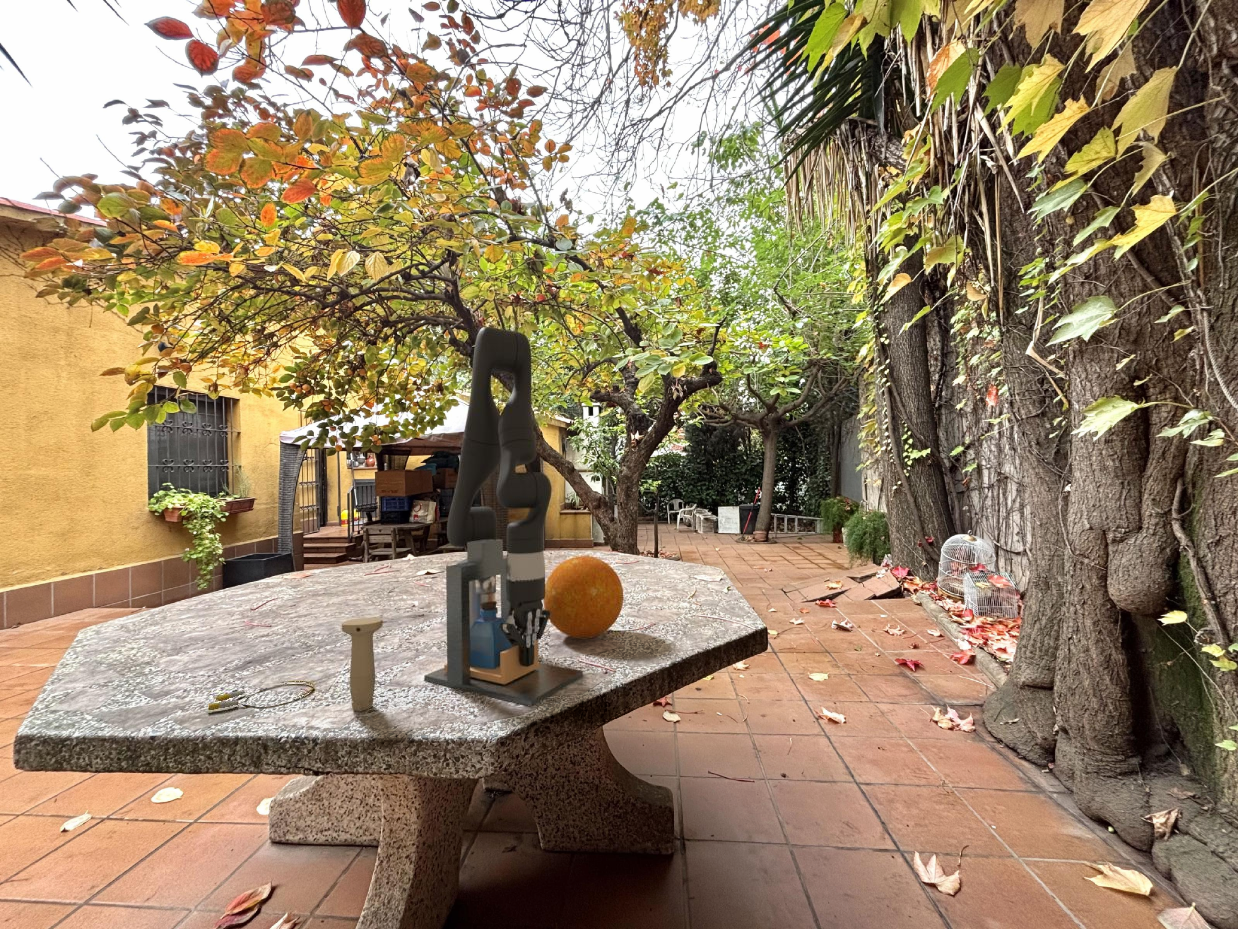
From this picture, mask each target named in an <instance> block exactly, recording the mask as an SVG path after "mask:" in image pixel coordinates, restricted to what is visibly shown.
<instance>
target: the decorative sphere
mask: <svg viewBox="0 0 1238 929" xmlns="http://www.w3.org/2000/svg"><path fill="white" fill-rule="evenodd" d="M542 602H543V608H544V609H545V610H549V611H550V612H551V614H550V617H549V619H548V621H550V623H551V624H552V626H554V627H555V628H556V629H557V630H558V631H560V632H561V633H562V634H565V635H566V636H569V637H571V638H575V639H590V638H591V639H592V638H595V637H598V636H600V635H602V634H603V633H605V632H607V631H608V630H609V629H610V628H611V627H612V626H613V625H614V624H615V623H616V622H617V620H618V618H619V616H620V614H621V612H622V609H623V606H624V589H623V585H622V582H621V580H620V577H619V575H618V574H617V572H616V570H614V569H613V567H612V566H611V565H609V564H608V563H606V561H604V560H602V559H600V558H597V557H594V556H588V555H581V556H574V557H571V558H568V559H566V560H564V561H562V562H561V563H559V564H558V565H557V566H556V567H555V568H554V569H553V570H552V572H551V573H550V574H549V576H548V578H547V580H546V581H545V598H544V599H543V600H542Z"/></svg>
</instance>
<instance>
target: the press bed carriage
mask: <svg viewBox="0 0 1238 929" xmlns="http://www.w3.org/2000/svg"><path fill="white" fill-rule="evenodd" d="M534 655H535V658H534V664H533V665H531V666H529V667H525V666H521V664H520V661H519V646H515V647H513V648H510V649H508V650H505V651H503V652H500V666H499V667H497V668H495V669H487V668H478V667H470V677H474V678H478V679H483V680H487V681H492V682H496V683H501V684H507V683H509V682H511V681H513V680H515V679H517V678H519V677H521V676H523V675H525V674H527V673H529V672H531V671H533V670H535V669H537V668H539V663H540V662H539V639H538V640H537V641H536V644H535V645H534ZM443 666H444V667H443V668H444V671H447V663H445V664H444V665H443Z"/></svg>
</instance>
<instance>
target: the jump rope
mask: <svg viewBox="0 0 1238 929" xmlns="http://www.w3.org/2000/svg"><path fill="white" fill-rule="evenodd" d="M295 681H296V682H295ZM299 681H300V682H299ZM284 682H285V681H281V682H280V683H284ZM286 682H295V683H302V682H306V683H305V684H309V683H310V685H311V684H312V685H313V688H312V687H311V689H310V690H308V691H306V692H304V693H302V694H300V695H299V694H298V695H297V696H294V697H293V698H296V697H299V696H301V697H302V695H305V694H307V693H309V692H310V691H312V690H313V689H314V690H315V687H316V686H315V683H313V682H311V681H308V680H287V681H286ZM314 690H313V691H314ZM313 691H312V692H313ZM245 692H246V691H245V690H236V691H231V692H228V693H225V694H221V695H220V694H218V695H217V696H216V697H215V701H216V700H218V701H221V702H219V703H216V702H215V703H209V704H208V708H207V709H208V710H214V709H218V708H225V707H230V706H233V705H238V704H241V702H239V699H237V700H232V701H230V700H228V701H223V700H227V699H229V698H233V697H235V696H239V695H242V694H243V693H245ZM299 698H300V697H299ZM238 706H239V705H238ZM208 710H207V711H208Z"/></svg>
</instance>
